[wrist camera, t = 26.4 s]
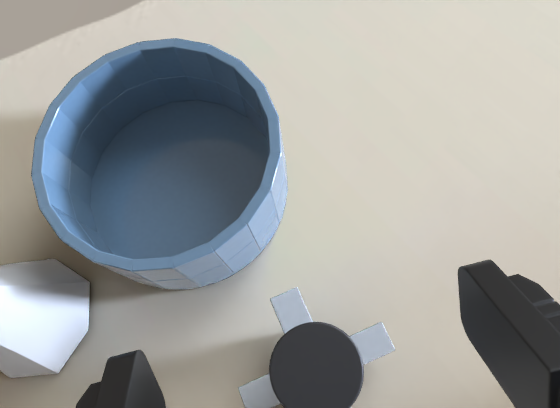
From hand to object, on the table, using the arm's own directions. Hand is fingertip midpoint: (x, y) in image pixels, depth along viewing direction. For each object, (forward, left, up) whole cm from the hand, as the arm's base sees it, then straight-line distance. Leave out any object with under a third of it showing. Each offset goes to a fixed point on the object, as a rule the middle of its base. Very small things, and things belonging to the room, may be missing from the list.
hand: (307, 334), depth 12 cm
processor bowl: (-7, +11, -17) cm, 21 cm away
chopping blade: (0, -1, -17) cm, 17 cm away
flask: (-17, +3, -17) cm, 24 cm away
